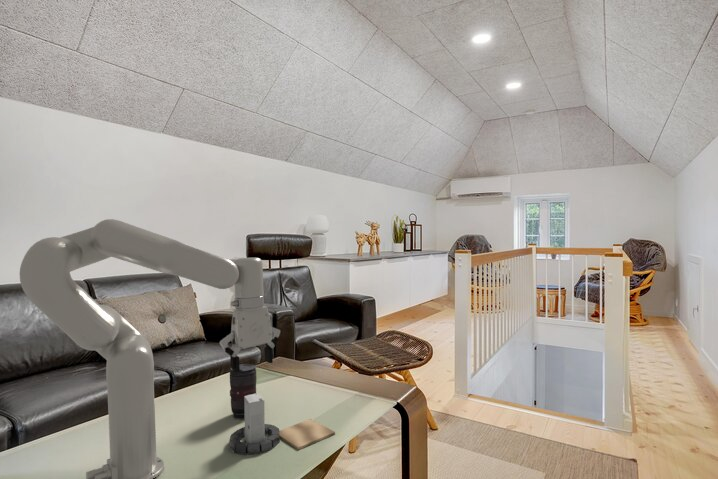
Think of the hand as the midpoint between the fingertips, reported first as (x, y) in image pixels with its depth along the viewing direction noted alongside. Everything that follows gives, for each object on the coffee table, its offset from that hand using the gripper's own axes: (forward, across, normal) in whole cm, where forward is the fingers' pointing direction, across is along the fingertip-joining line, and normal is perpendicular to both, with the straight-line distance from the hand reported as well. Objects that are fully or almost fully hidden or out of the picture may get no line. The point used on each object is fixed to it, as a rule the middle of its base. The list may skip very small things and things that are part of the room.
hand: (252, 366), depth 110 cm
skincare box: (+21, 0, 0) cm, 21 cm away
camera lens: (+21, +6, +19) cm, 29 cm away
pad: (+21, +12, -6) cm, 24 cm away
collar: (+20, 0, 0) cm, 21 cm away
